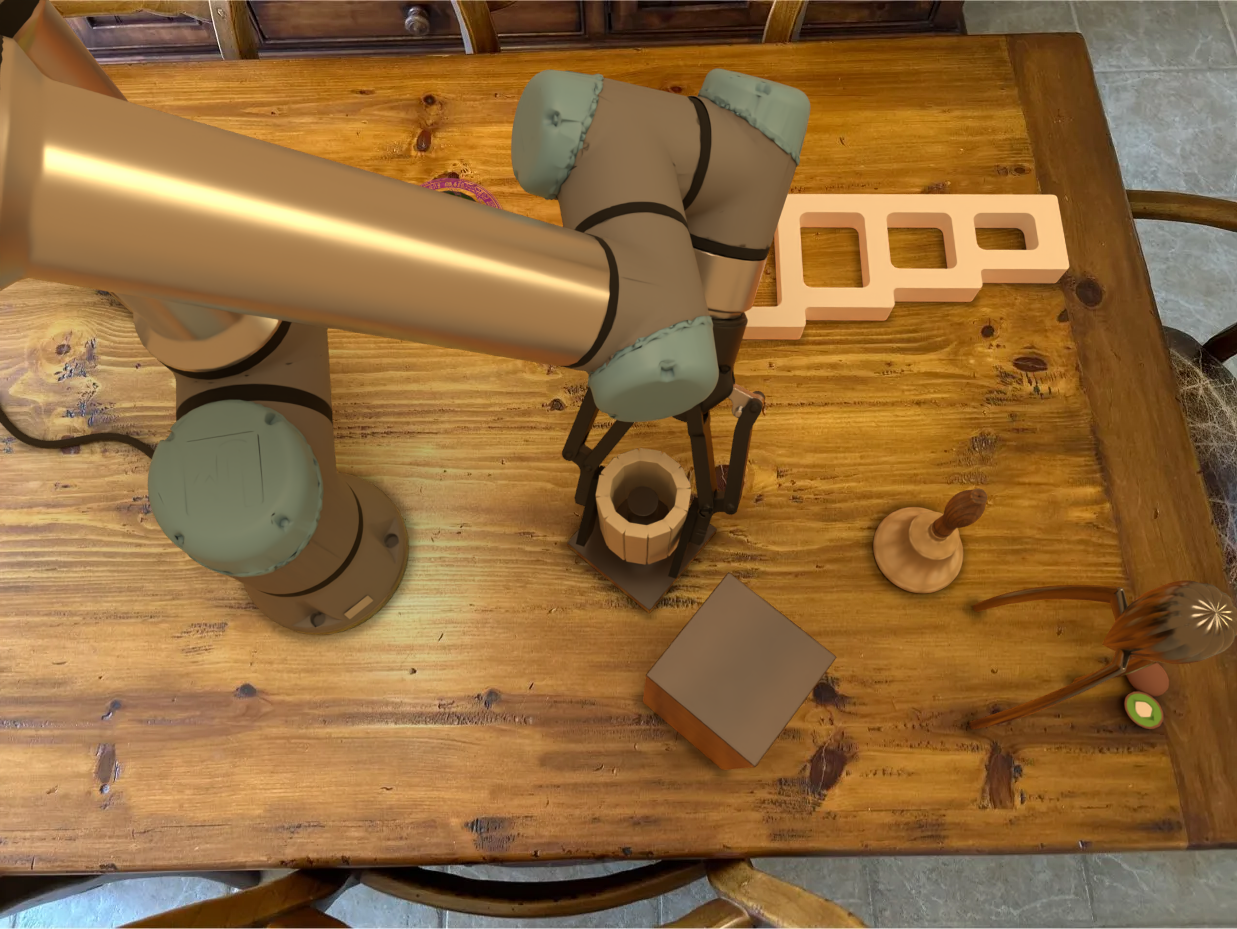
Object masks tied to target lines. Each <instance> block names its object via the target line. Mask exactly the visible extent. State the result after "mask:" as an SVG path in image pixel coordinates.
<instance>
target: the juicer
mask: <svg viewBox="0 0 1237 929" xmlns="http://www.w3.org/2000/svg"><path fill="white" fill-rule="evenodd" d="M1055 600H1058V601H1059V600H1060V601H1061V600H1063V601H1064V600H1067V601H1068V600H1069V601H1085V602H1086V601H1087V602H1088V601H1089V602H1096V603H1097V602H1098V603H1106V604H1110V608H1111V611H1112V616H1113V619H1114V623H1113V624H1112V625H1111V627H1110V629H1109V631H1108V632H1107V634H1106V636H1105V638H1104V639H1103V641H1102V644H1101V645H1102V646H1104V647H1106V648H1108V649H1110V650H1112V651H1114V654H1113V656H1112V660H1111V662H1110V663H1109V664H1108V665H1105V666H1104V667H1101V668H1100V669H1097V670H1096V671H1094V672H1092V673H1088V674H1085V675H1082V676H1078V677H1076V678H1074V679H1073V682H1071V683H1070V684H1067V685H1065V686H1063V687H1060V688H1058V689H1056V690H1054V691H1051V692H1049V693H1046V694H1044V695H1042V696H1039V697H1037V698H1034V699H1031V700H1029V701H1026V702H1023V703H1021V704H1017V705H1016V706H1012V707H1011V708H1007V709H1004V710H1001V711H999V712H996V713H992V714H989V715H986V716H984V717H980V718H976V719H974V720H970V721H969V722H968V727H969V728H970V729H971V730H977V729H985V728H988V727H993V726H997V725H1001V724H1006V723H1009V722H1012V721H1015V720H1019V719H1021V718H1025V717H1029V716H1030V715H1034V714H1036V713H1039V712H1042V711H1044V710H1046V709H1049V708H1051V707H1054V706H1056V705H1058V704H1061V703H1063V702H1065V701H1067V700H1070V699H1072V698H1075V697H1076V696H1078V695H1081V694H1082V693H1084V692H1087V691H1089V690H1091V689H1093V688H1095V687H1098V686H1099V685H1101V684H1103V683H1106V682H1107V681H1110V680H1112V679H1115V678H1120V677H1122V676H1126V674H1129V673H1132V672H1135V671H1138V670H1141V669H1143V668H1146V667H1148V666H1151V665H1153V664H1155V663H1158V664H1159V663H1162V664H1169V665H1187V664H1193V663H1198V662H1202V661H1205V660H1208V659H1209V658H1212V657H1214V656H1217V655H1219V654H1222V653H1223V652H1225V651H1227V650H1228V649H1229V648H1230V647H1231V646H1232V645H1233V644H1234V641H1235V638H1236V637H1237V607H1236V606H1235V604H1234V601H1233V599H1232V597H1230V595H1228V594H1227V593H1225V592H1224V591H1221V590H1220V589H1219V588H1218V587H1217V586H1215V585H1213V584H1211V583H1208V582H1202V581H1201V582H1199V581H1195V580H1191V579H1190V580H1189V579H1187V580H1176V581H1172V582H1169V583H1165V584H1163V585H1160V586H1158V587H1156V588H1153V589H1149V590H1148V591H1146V592H1144V593H1142V594H1141V595H1140V596H1138V597H1136V598H1135V599H1134V600H1133V601H1132V602H1131V603H1128V599H1127V595H1126V591H1125V589H1124V588H1123V587H1122V586H1114V585H1101V584H1056V585H1055V584H1054V585H1044V586H1036V587H1031V588H1024V589H1018V590H1013V591H1009V592H1005V593H1003V594H998V595H994V596H992V597H989V598H987V599H984V600H982V601H979V602H977V603H974V604H973V606H972V610H973V611H974V612H975V613H979V612H982V611H987V610H990V609H993V608H998V607H1003V606H1008V605H1013V604H1018V603H1026V602H1036V601H1055ZM1131 656H1132V657H1135V658H1134V659H1131V660H1129V658H1130V657H1131Z"/></svg>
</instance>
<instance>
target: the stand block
mask: <svg viewBox="0 0 1237 929" xmlns="http://www.w3.org/2000/svg"><path fill="white" fill-rule="evenodd" d="M836 660H837V656H836V655H835V654H834V653H833V652H831V651H830V650H829V649H828V648H827V647H825V646H824V645H823V644H821V643H820V642H819V641H817V639H815V638H814V637H812V636H811V635H810V634H808V633H807V632H806V631H805V630H803V629H802V628H801V627H800V626H799V625H797V624H796V623H795V622H794V621H792V620H791V619H790V618H789V617H787V616H786V615H784V614H783V613H782V612H780V611H779V610H778V609H777V608H776V607H774V605H772V604H770V603H769V602H768V601H766V599H765V598H763V597H762V596H760V594H758V593H757V592H755V591H754V590H753V589H751V588H750V587H749V586H748V585H746V584H745V583H744V582H742V580H740V579H739V578H737V576H735V575H734V574H733V573H731V572H729V571H727V573H726V574H725V575H724V577H723V578H722V579H721V580H720V582H719V583H718V584H717V585H716V586H715V587H714V589H713V590H712V592H711V593H709V596H708V597H707V598H706V599H705V600H704V601H703V603H702V604H701V605H700V606H699V608H698V609H697V610H696V611H695V613H694V614H693V615H692V617H691V618H690V619H689V620H688V621H687V623H686V624H685V625H684V626H683V627H682V629H681V630H680V632H679V633H678V634H676V636H675V637H674V639H673V640H672V641H671V642H670V644H669V645H668V646H667V648H666V649H665V650H664V651H663V653H662V654H661V655H660V656H659V658H658V659H657V660H656V661H655V662H654V663H653V665H652V666H651V667H650V669H649V670H648V671H647V672H646V674H645V679H644V680H645V681H644V689H643V697H642V698H643V700H642V703H643V704H644V705H645V706H646V707H648V708H649V709H650V710H651V711H653V712H654V713H655V714H656V715H657V716H658V717H660V719H661V720H663V721H664V722H665V723H667V724H668V725H669V726H670V727H671V728H673V729H674V730H675V731H676V732H677V733H678V734H680V735H681V737H683V738H684V739H685V740H687V741H688V742H689V743H690V744H691V745H692V746H693V747H694V748H696V749H697V750H698V751H700V752H701V753H702V754H703V755H704V756H705V757H706V758H708V759H709V760H710V761H711V762H712V763H714V764H715V765H716V766H717V767H718V768H719V769H720V770H722V771H725V770H726V771H727V770H738V769H749V768H756V767H758V765H759V763H760V762H761V761H762V759H763V758H764V757H765V755H766V754H767V752H769V750H770V749H771V747H772V745H773V744H774V743H775V742H776V740H777V739H778V738H779V736H781V734H782V733H783V731H784V730H785V728H786V727H787V725H788V724H789V723H790V722H791V720H792V719H793V718H794V716H795V715H796V713H797V712H798V711H799V709H800V708H801V707H802V705H804V703H805V701H806V700H807V698H808V697H809V696H810V695H811V693H812V692H813V690H814V689H815V688H816V686H817V685H818V684H819V682H820V681H821V679H822V678H823V677H824V675H825V674H826V673H827V672H828V670H829V669H830V667H831V666H832V665H833V663H834V662H835V661H836Z"/></svg>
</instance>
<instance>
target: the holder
mask: <svg viewBox="0 0 1237 929" xmlns="http://www.w3.org/2000/svg"><path fill="white" fill-rule="evenodd" d="M801 228H851V229H854V230H856V232H857V234H858V246H859V257H860V267H861V268H860V269H861V279H862V280H861V281H862V287H834V286H833V287H831V286H830V287H829V286H828V287H827V286H826V287H825V286H824V287H821V286H820V287H818V286H817V287H815V286H808V285H807V284H806V283H805V282H804V281H805V280H804V270H803V253H802V239H801V238H802V237H801V234H802V233H801ZM888 228H890V229H891V228H892V229H897V228H900V229H901V228H902V229H903V228H904V229H907V228H909V229H912V228H913V229H915V228H917V229H919V228H920V229H931V228H932V229H938V230H940V231H941V233H942V234H943V244H944V252H945V260H946V268H900V267H899V268H898V267H896V266H894V265H893V264H892V261H891V252H890V240H889V232H888V230H889V229H888ZM976 229H1018V230H1020V231H1021V232H1022V233H1023V236H1024V237H1023V238H1024V242H1025V249H985V248H981V247H980V246H979V245H978V242H977V235H976V234H977V233H976ZM773 240H774V241H773V242H774V260H775V261H774V262H775V280H776V282H775V283H776V301H777V305H776V306H752V308H751V309H749V310H748V311H746V312H744V313H745V314H746V317H747V319H748V322H747V326H746V329H745V332H744V335H743V338H742V340H791V341H792V340H795V341H796V340H800V339H801V338H802V336H803V332H804V330H805V327H806V325H807V321H871V322H872V321H880V322H881V321H883V322H884V321H886V320H888V318H889V317H890V314H891V313H892V311H893V309H894V307H895V305H896V302H910V303H911V302H912V303H913V302H916V303H917V302H918V303H919V302H921V303H923V302H924V303H927V302H928V303H929V302H931V303H933V302H934V303H936V302H938V303H939V302H940V303H944V302H945V303H965V302H966V303H970V302H972V301H974V299H975V298H976V296H977V294H978V293H979V292H980V290H981V289H982V287H983V285H984V284H1056V283H1057V282H1058V281H1059V280H1060V279H1062V276H1064V275H1065V273H1066V272H1067V271H1068V269H1069V268H1070V260H1069V255H1068V250H1067V245H1066V239H1065V233H1064V227H1063V222H1062V215H1061V211H1060V205H1059V199H1058V196H1057V195H1055V194H983V193H981V194H961V193H959V194H954V193H953V194H951V193H950V194H949V193H948V194H944V193H941V194H939V193H938V194H936V193H933V194H931V193H929V194H928V193H924V194H923V193H919V194H918V193H916V194H915V193H912V194H911V193H909V194H908V193H907V194H906V193H905V194H904V193H890V194H889V193H888V194H887V193H788V195H787V198H786V201H785V204H784V207H783V210H782V213H781V216H780V219H779V222H778V225H777V228H776V231H775V234H774V237H773Z"/></svg>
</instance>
